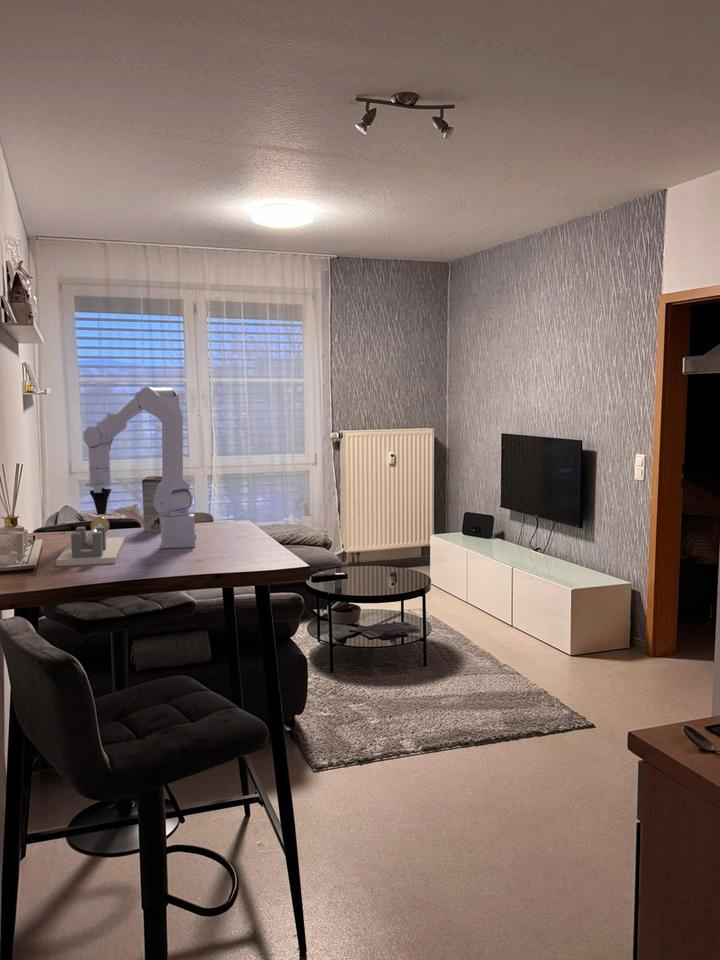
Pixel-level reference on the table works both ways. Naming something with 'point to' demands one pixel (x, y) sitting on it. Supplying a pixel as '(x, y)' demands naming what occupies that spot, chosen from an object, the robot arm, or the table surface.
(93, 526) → the shaft
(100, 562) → the shaft housing
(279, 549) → the table surface
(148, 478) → the coffee box
